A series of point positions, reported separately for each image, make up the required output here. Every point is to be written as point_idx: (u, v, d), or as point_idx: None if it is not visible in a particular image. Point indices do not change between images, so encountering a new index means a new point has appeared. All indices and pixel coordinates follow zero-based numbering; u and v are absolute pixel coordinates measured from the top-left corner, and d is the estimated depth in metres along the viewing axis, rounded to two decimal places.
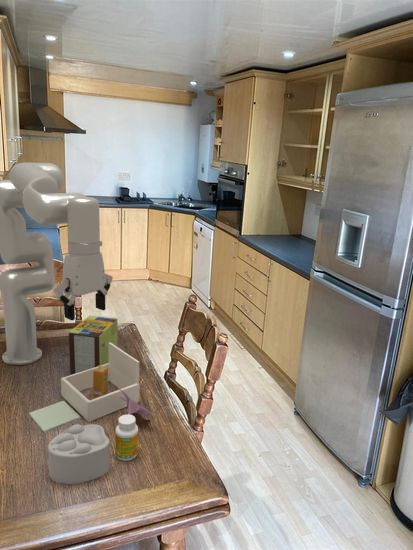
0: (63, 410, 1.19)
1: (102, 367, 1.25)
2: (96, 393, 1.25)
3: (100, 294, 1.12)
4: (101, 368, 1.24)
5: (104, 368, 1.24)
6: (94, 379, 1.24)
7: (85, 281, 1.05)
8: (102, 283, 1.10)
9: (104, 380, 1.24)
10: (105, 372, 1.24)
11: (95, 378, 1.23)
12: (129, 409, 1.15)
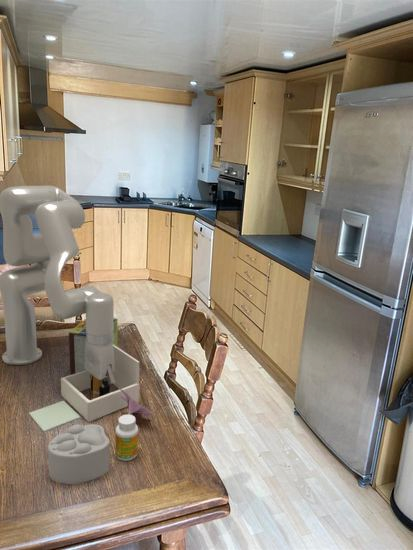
0: (63, 410, 1.19)
1: None
2: (96, 393, 1.25)
3: None
4: None
5: None
6: (94, 379, 1.23)
7: None
8: None
9: (104, 380, 1.24)
10: None
11: (95, 378, 1.23)
12: (129, 408, 1.15)
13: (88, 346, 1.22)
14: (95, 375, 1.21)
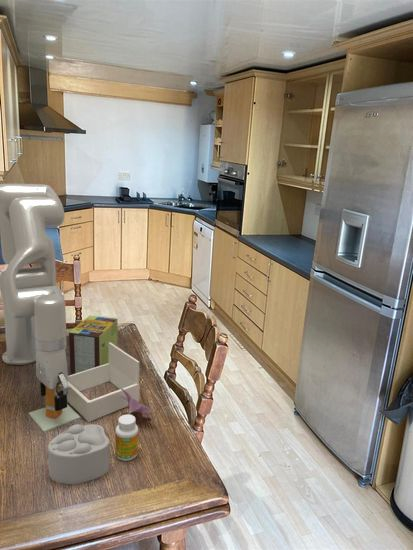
0: (63, 410, 1.19)
1: None
2: (49, 408, 1.15)
3: None
4: None
5: None
6: (47, 393, 1.14)
7: None
8: None
9: None
10: None
11: (47, 392, 1.14)
12: (130, 407, 1.16)
13: (38, 353, 1.12)
14: (46, 384, 1.11)
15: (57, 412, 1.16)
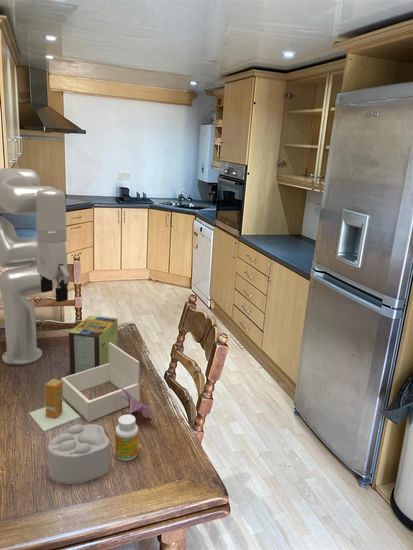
0: (63, 410, 1.19)
1: (56, 381, 1.15)
2: (49, 408, 1.15)
3: None
4: (54, 382, 1.15)
5: (58, 382, 1.15)
6: (46, 393, 1.14)
7: None
8: None
9: (57, 395, 1.14)
10: (58, 386, 1.14)
11: (47, 392, 1.14)
12: (131, 407, 1.16)
13: (39, 246, 1.16)
14: (47, 276, 1.15)
15: (56, 413, 1.16)
